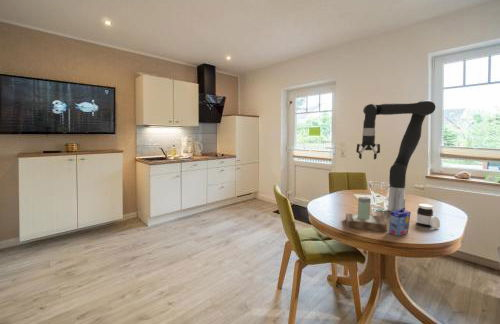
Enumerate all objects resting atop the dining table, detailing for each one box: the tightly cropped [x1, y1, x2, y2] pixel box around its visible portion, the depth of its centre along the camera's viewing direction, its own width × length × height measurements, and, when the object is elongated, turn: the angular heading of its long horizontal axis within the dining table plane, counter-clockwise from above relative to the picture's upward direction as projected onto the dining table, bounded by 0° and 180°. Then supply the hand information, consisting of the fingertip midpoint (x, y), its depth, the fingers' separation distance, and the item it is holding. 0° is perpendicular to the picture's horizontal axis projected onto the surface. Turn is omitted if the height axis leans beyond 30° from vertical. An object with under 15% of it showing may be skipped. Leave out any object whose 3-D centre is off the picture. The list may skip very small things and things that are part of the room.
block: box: [357, 196, 371, 219], centre depth 147 cm, size 5×4×12 cm
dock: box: [345, 212, 388, 232], centre depth 147 cm, size 20×14×4 cm
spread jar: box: [416, 203, 441, 230], centre depth 146 cm, size 12×11×12 cm
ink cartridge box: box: [388, 207, 411, 237], centre depth 135 cm, size 10×6×14 cm, turn 117°
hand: (367, 159), depth 168 cm, fingers open, 8 cm apart
